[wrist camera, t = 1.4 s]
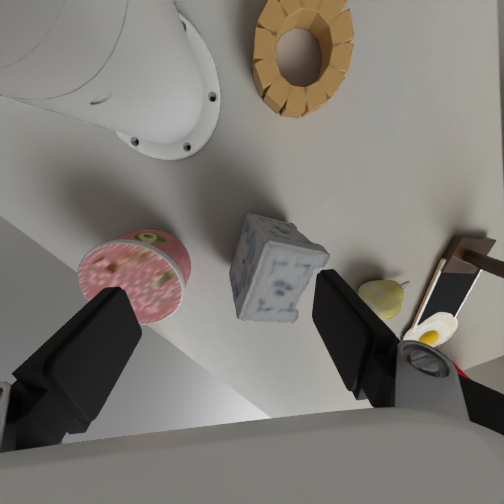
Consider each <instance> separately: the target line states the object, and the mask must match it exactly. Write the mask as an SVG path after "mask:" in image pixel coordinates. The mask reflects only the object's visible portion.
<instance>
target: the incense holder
mask: <svg viewBox="0 0 504 504" xmlns="http://www.w3.org/2000/svg"><path fill="white" fill-rule="evenodd" d="M329 258H330V254H329V253H328V252H327V251H326V250H325V248H324V247H323V246H321V245H319V244H315V243H312V242H311V241H310V240H308V239H307V238H306V237H305V236H304V235H303V234H301V233H300V232H299V231H298V230H297V227H296V226H295V225H294V224H293V223H288V222H285V221H280V220H275V219H272V218H268V217H264V216H260V215H256V214H251V213H247V215H246V218H245V221H244V224H243V228H242V232H241V236H240V239H239V242H238V245H237V248H236V252H235V255H234V258H233V261H232V264H231V268H230V272H229V275H230V282H231V286H232V292H233V299H234V303H235V308H236V314H237V318H238V319H240V320H243V321H257V322H279V323H281V322H284V323H289V322H291V323H295V322H296V321H297V319H298V310H297V309H296V307H297V304H298V301H299V299H300V297H301V295H302V294H303V292H304V290H305V288H306V286H307V284H308V283H309V280H310V278H311V277H312V275H313V273H314V271H315V269H317V268H321V267H324V266H325V265H326V264H327V263H328V260H329Z"/></svg>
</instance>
